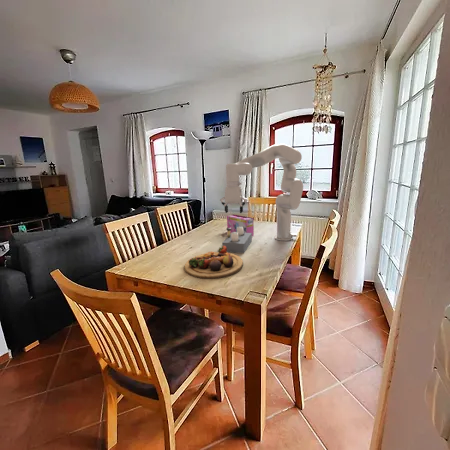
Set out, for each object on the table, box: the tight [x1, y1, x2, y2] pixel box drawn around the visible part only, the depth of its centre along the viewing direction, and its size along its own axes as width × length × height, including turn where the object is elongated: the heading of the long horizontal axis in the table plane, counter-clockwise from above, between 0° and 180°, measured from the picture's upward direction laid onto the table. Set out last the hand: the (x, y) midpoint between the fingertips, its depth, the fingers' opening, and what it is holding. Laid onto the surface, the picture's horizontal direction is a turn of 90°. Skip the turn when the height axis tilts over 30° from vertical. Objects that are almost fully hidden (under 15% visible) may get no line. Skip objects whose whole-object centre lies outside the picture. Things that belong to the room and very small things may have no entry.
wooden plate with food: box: [183, 246, 244, 280], centre depth 134 cm, size 32×32×8 cm
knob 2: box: [237, 227, 244, 236], centre depth 170 cm, size 4×4×7 cm
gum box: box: [226, 214, 255, 237], centre depth 193 cm, size 24×8×14 cm, turn 40°
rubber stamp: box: [226, 227, 231, 238], centre depth 165 cm, size 3×3×6 cm
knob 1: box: [230, 232, 239, 242], centre depth 157 cm, size 4×4×7 cm
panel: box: [221, 232, 253, 254], centre depth 164 cm, size 14×24×6 cm, turn 163°
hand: (233, 212), depth 153 cm, fingers open, 8 cm apart
